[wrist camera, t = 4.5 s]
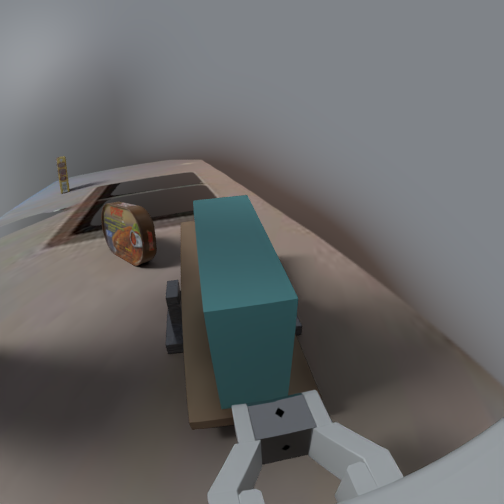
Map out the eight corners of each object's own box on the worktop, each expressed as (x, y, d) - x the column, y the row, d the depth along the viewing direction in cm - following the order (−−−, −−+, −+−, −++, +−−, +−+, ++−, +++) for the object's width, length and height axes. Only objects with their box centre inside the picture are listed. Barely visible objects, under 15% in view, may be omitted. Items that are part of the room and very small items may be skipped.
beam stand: (168, 353, 26) (156, 308, 24) (172, 273, 40) (167, 238, 38) (301, 334, 28) (303, 288, 26) (263, 261, 42) (261, 227, 40)
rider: (221, 409, 17) (203, 312, 13) (204, 287, 27) (193, 200, 23) (287, 397, 17) (298, 298, 13) (249, 281, 28) (247, 195, 23)
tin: (105, 248, 50) (95, 201, 47) (120, 242, 52) (112, 196, 49) (145, 273, 41) (134, 213, 37) (164, 265, 43) (155, 207, 40)
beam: (191, 436, 17) (185, 422, 16) (181, 237, 39) (179, 222, 38) (320, 413, 18) (325, 398, 17) (247, 229, 40) (247, 215, 39)
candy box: (70, 191, 113) (65, 155, 107) (61, 194, 111) (55, 158, 105) (69, 189, 120) (64, 155, 114) (60, 191, 118) (55, 157, 112)
